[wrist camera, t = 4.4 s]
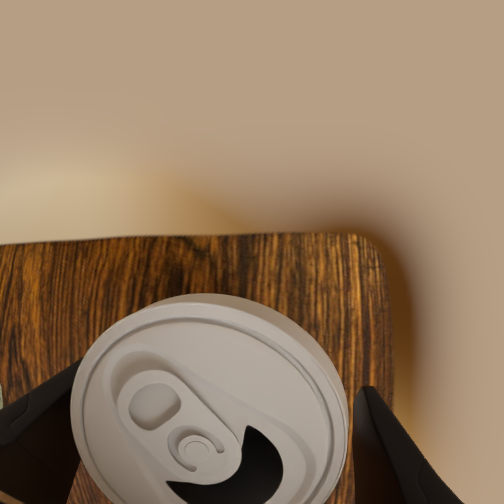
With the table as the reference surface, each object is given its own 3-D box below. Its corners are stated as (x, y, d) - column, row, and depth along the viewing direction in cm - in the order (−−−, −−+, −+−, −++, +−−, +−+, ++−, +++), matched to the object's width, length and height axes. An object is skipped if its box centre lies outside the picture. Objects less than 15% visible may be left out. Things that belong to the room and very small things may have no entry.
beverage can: (239, 444, 14) (199, 583, 3) (168, 368, 16) (18, 394, 4) (319, 377, 15) (427, 439, 4) (245, 300, 17) (206, 212, 5)
